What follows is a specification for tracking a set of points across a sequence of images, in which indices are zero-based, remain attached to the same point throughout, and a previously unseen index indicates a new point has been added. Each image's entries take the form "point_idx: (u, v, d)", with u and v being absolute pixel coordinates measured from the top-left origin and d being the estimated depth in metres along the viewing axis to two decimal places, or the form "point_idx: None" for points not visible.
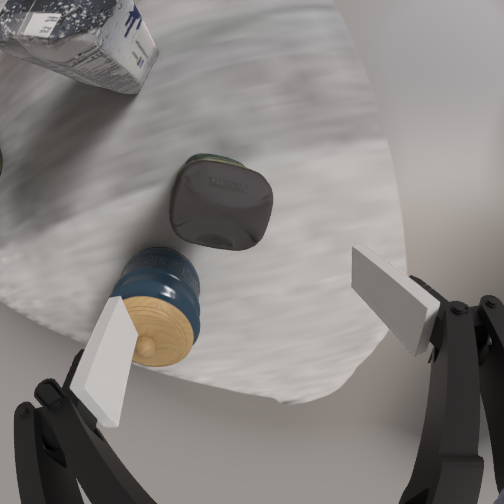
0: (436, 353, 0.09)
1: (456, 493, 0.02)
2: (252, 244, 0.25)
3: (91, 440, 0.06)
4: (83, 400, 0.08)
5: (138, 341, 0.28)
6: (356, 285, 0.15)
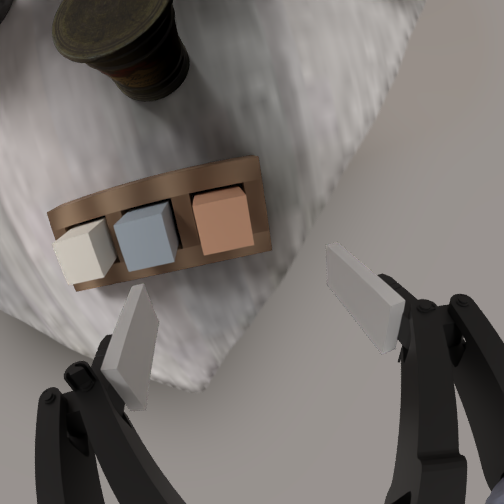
0: (405, 353, 0.09)
1: (440, 495, 0.02)
2: None
3: (120, 426, 0.06)
4: (113, 382, 0.09)
5: None
6: (330, 283, 0.15)
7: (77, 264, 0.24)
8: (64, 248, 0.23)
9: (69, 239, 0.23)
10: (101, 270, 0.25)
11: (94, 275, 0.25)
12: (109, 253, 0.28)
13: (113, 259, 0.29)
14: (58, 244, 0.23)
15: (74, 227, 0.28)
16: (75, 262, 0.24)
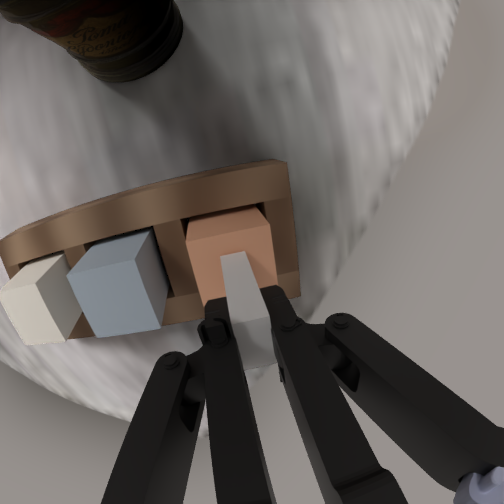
0: (284, 373, 0.10)
1: None
2: None
3: (245, 391, 0.07)
4: (240, 337, 0.10)
5: None
6: None
7: (30, 322, 0.15)
8: (11, 300, 0.14)
9: (14, 289, 0.13)
10: (61, 332, 0.15)
11: (53, 338, 0.15)
12: (74, 302, 0.18)
13: (80, 309, 0.19)
14: (3, 294, 0.13)
15: (30, 263, 0.18)
16: (27, 319, 0.14)
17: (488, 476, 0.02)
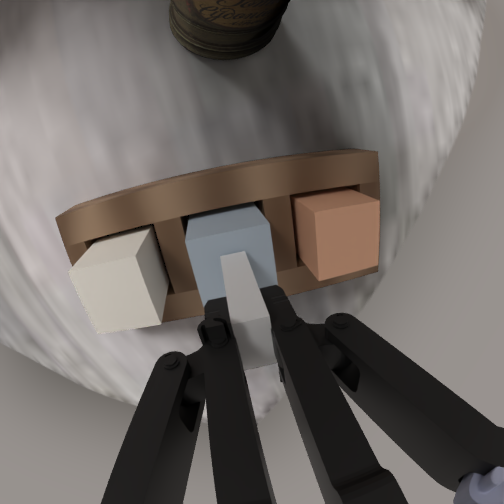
0: (284, 373, 0.10)
1: None
2: None
3: (245, 391, 0.07)
4: (240, 337, 0.10)
5: None
6: None
7: (114, 305, 0.16)
8: (91, 279, 0.15)
9: (99, 265, 0.15)
10: (156, 314, 0.17)
11: (144, 321, 0.16)
12: (161, 282, 0.19)
13: (165, 290, 0.20)
14: (79, 273, 0.14)
15: (99, 240, 0.19)
16: (111, 301, 0.16)
17: (488, 476, 0.02)
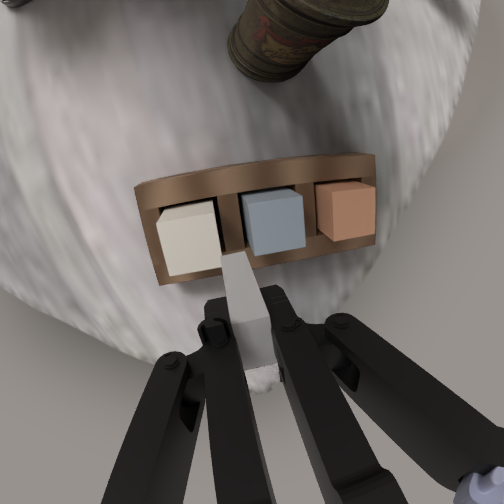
0: (284, 373, 0.10)
1: None
2: None
3: (245, 391, 0.07)
4: (239, 337, 0.10)
5: None
6: None
7: (190, 250, 0.23)
8: (175, 229, 0.22)
9: (184, 219, 0.22)
10: None
11: (211, 264, 0.24)
12: (219, 240, 0.27)
13: None
14: (166, 224, 0.22)
15: (169, 208, 0.27)
16: (188, 247, 0.23)
17: (488, 476, 0.02)
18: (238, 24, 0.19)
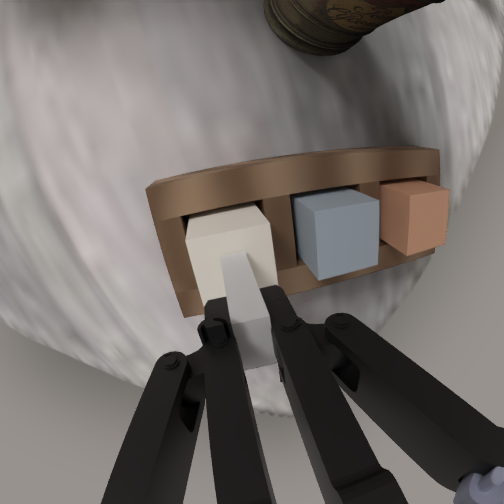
0: (284, 373, 0.10)
1: None
2: None
3: (245, 391, 0.07)
4: (240, 337, 0.10)
5: None
6: None
7: None
8: (213, 248, 0.16)
9: (227, 233, 0.16)
10: None
11: None
12: None
13: None
14: (200, 241, 0.16)
15: (195, 215, 0.20)
16: None
17: (488, 476, 0.02)
18: None
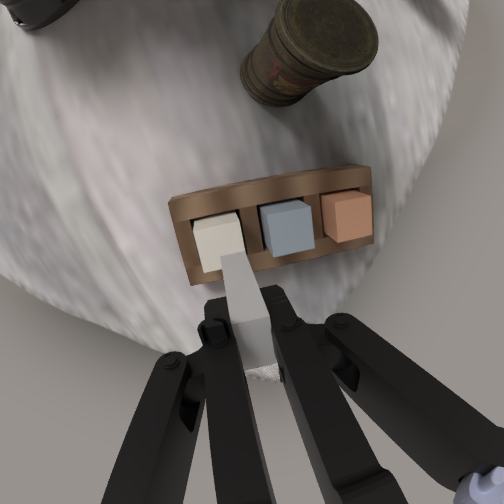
0: (284, 373, 0.10)
1: None
2: None
3: (245, 391, 0.07)
4: (240, 337, 0.10)
5: None
6: None
7: (220, 251, 0.30)
8: (208, 235, 0.29)
9: (216, 226, 0.29)
10: None
11: None
12: None
13: None
14: (201, 231, 0.29)
15: (198, 217, 0.33)
16: (219, 249, 0.30)
17: (488, 476, 0.02)
18: (251, 59, 0.24)
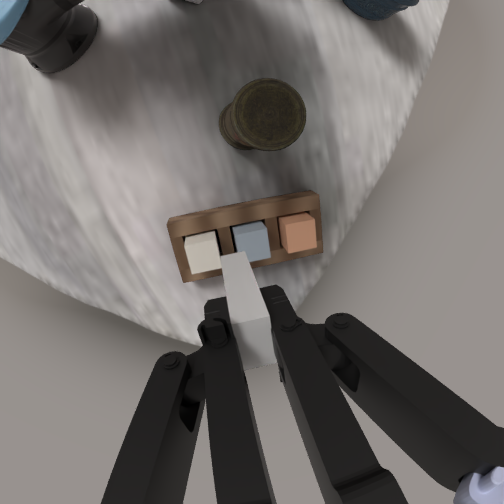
0: (284, 373, 0.10)
1: None
2: None
3: (245, 391, 0.07)
4: (240, 338, 0.10)
5: None
6: None
7: (203, 259, 0.43)
8: (194, 249, 0.42)
9: (200, 243, 0.42)
10: (220, 263, 0.43)
11: (215, 266, 0.43)
12: (219, 252, 0.46)
13: None
14: (189, 246, 0.41)
15: None
16: (202, 258, 0.43)
17: (488, 476, 0.02)
18: (224, 119, 0.37)
